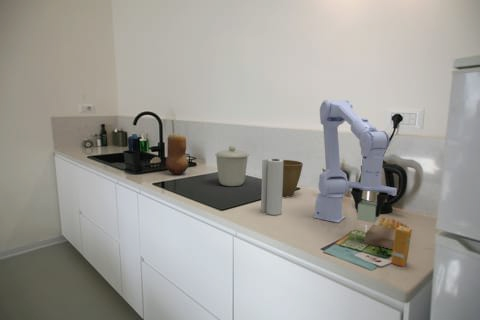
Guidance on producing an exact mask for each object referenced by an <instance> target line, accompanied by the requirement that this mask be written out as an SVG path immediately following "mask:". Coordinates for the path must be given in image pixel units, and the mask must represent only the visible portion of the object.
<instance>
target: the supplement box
mask: <svg viewBox="0 0 480 320" xmlns="http://www.w3.org/2000/svg"><path fill="white" fill-rule="evenodd" d="M407 227H408V226H407ZM407 227H404V226H399V227H398V228H396V232H395V239H394V246H393V250H392V254H391V255H392V256H391V260H390V261H391V262H390V263H391V264H394V265H395V266H399V267H402V268H404V267H405V266H406V264H408V263H407V262H408V258H409V249H410V244H411V236H412V228H410V227H409V228H407Z"/></svg>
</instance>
